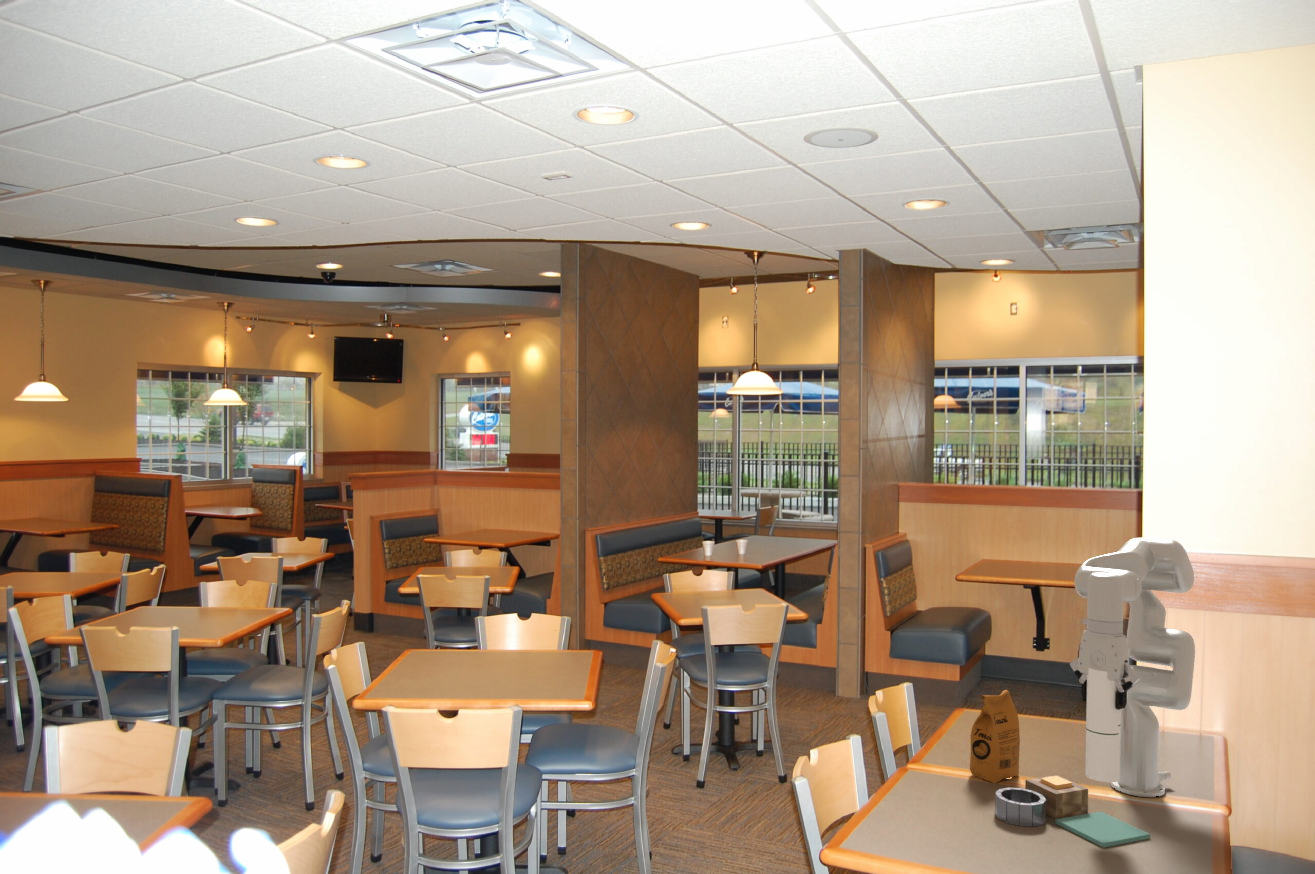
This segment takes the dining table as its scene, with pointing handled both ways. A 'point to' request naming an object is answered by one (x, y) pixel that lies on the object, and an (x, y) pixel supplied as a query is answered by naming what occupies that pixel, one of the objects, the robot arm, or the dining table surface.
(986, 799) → the dining table surface
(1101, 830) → the mat
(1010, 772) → the coffee package
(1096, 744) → the cylindrical container
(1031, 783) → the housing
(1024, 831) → the dining table surface
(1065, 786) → the tan block
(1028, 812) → the collar
